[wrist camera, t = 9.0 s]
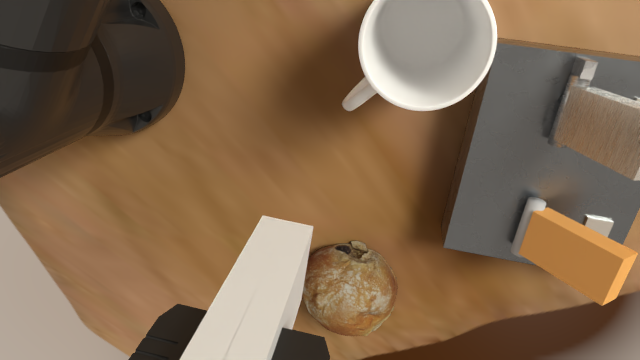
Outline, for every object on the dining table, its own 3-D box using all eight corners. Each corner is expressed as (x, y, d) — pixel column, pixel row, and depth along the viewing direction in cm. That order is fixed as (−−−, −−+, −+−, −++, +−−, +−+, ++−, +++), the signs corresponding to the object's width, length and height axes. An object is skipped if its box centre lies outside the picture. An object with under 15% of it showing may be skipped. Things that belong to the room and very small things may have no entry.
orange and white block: (504, 250, 39) (599, 311, 32) (522, 199, 36) (626, 253, 30) (519, 245, 40) (613, 303, 33) (536, 195, 37) (640, 246, 31)
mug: (378, 118, 41) (366, 167, 31) (320, 41, 39) (286, 64, 29) (496, 35, 37) (531, 59, 26) (437, -56, 35) (448, -71, 24)
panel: (440, 225, 44) (450, 306, 33) (489, 36, 37) (521, 61, 26) (590, 253, 43) (652, 348, 32) (673, 60, 35) (792, 98, 24)
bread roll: (396, 236, 50) (391, 243, 42) (402, 329, 50) (397, 354, 42) (310, 238, 52) (289, 246, 44) (314, 328, 52) (294, 352, 44)
